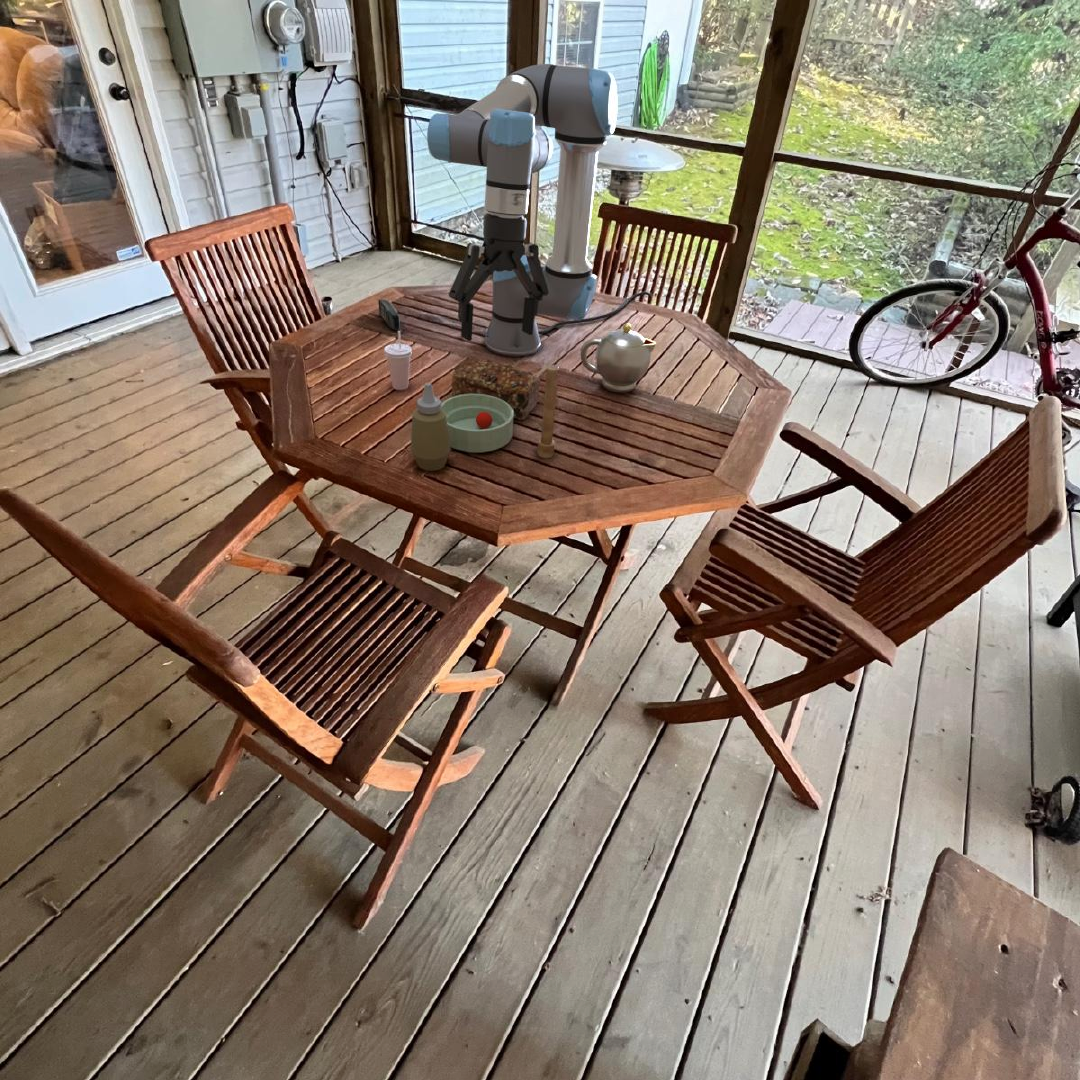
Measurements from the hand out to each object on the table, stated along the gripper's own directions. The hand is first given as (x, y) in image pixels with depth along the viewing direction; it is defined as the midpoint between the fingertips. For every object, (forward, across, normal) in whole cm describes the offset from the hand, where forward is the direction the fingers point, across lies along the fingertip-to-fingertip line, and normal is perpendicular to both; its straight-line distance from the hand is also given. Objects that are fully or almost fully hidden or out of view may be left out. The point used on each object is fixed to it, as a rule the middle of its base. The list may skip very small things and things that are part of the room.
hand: (497, 335), depth 131 cm
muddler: (+25, +12, -4) cm, 28 cm away
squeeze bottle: (+27, -12, +4) cm, 30 cm away
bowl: (+25, +2, +9) cm, 27 cm away
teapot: (+21, +45, +14) cm, 51 cm away
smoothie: (+24, -3, +37) cm, 44 cm away
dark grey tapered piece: (+20, +10, +73) cm, 76 cm away
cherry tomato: (+22, +4, +10) cm, 25 cm away
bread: (+23, +13, +19) cm, 33 cm away
